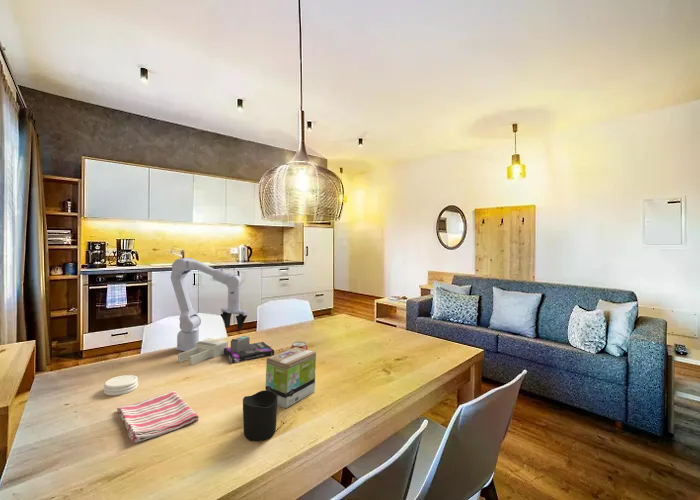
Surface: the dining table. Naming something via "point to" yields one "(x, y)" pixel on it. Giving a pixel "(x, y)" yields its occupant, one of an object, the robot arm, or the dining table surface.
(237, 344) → the grey tapered block
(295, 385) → the tea box
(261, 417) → the pen holder
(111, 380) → the coaster
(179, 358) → the stand
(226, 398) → the dining table surface
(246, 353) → the box
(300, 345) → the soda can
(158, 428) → the dish towel
